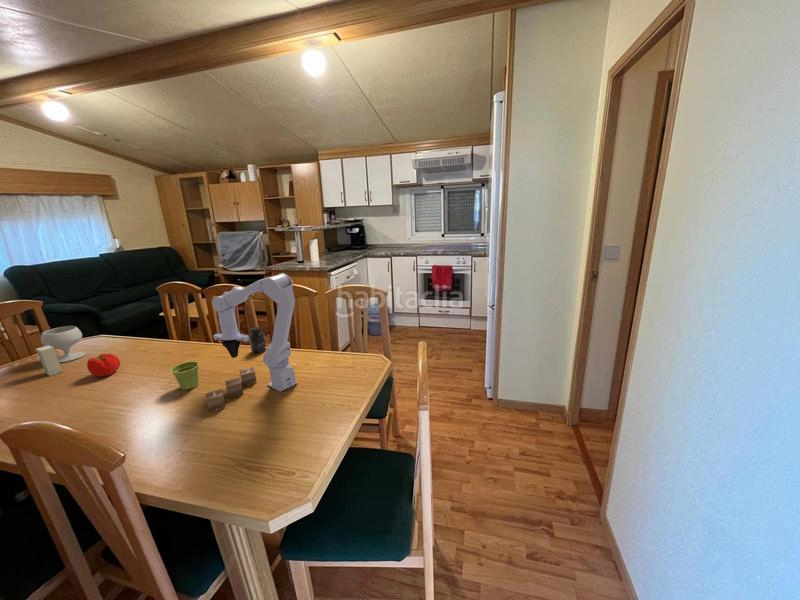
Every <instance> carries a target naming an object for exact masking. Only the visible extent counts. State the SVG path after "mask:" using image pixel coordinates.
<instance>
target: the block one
mask: <svg viewBox="0 0 800 600" xmlns="http://www.w3.org/2000/svg"><path fill="white" fill-rule="evenodd" d="M205 398H206V404H207V408H208V412H209V411H212V412H214V411H213V410H215V411H217V410H216V409H219V410H221V409H220V408H222V409H224V408H223V407H225V408H226V403H225V402H226V401H225V398H224V393H223V388H220V389H217V390H213V391H209V392H206V393H205Z"/></svg>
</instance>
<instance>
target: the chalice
mask: <svg viewBox="0 0 800 600" xmlns="http://www.w3.org/2000/svg"><path fill="white" fill-rule="evenodd" d="M82 337H83V333H82V331H81V330H80V329H79V328H78V327H77V326H75V325H65V326H59V327H55V328H51V329H47V330H46V331H43V332H42V333H41V335H40V343H41V344H42V347H44V346H48V345H50V346H52V347H53V348H54V350H55V349H56V350H60V351H61V350H62V351H63V353H64V354H63V355H61V356H57V358H58V361H59V363H60V364H61V363H66V362H71V361H75V360H77V359H80V358H82V357H83V356H85V355H86V352H84V351H77V352H75V351H74V352H71V351H70V350H71V348H72V347H73V346H74V345H76V344H77V343H79V342H80V341H81V339H82Z"/></svg>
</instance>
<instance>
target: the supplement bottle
mask: <svg viewBox="0 0 800 600" xmlns="http://www.w3.org/2000/svg"><path fill="white" fill-rule="evenodd" d="M262 331H263V330H262V327H260V326H255V327H251V328H250V331H249V332H250V334H249V335H248V337H249V344H250V349H251V350H250V351H251V353H252V354H254V353H255V355H257V354H256V353H259V354H262V353H261V352H263V353H265V352H266V351H267V345H266V338H265V333H264V332H262ZM265 347H266V348H265ZM264 351H265V352H264Z"/></svg>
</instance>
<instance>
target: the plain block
mask: <svg viewBox="0 0 800 600" xmlns="http://www.w3.org/2000/svg"><path fill="white" fill-rule="evenodd" d="M224 383H225V388H226V393H227V398H228V399H231V398H230V397H233V398H235V397H234V396H236V397H238V396H237V395H239V396H242V395H241V394H243V395H244V391H243V384H242V381H241V376H240V377H236V378H231V379H227V380H225V381H224Z"/></svg>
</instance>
